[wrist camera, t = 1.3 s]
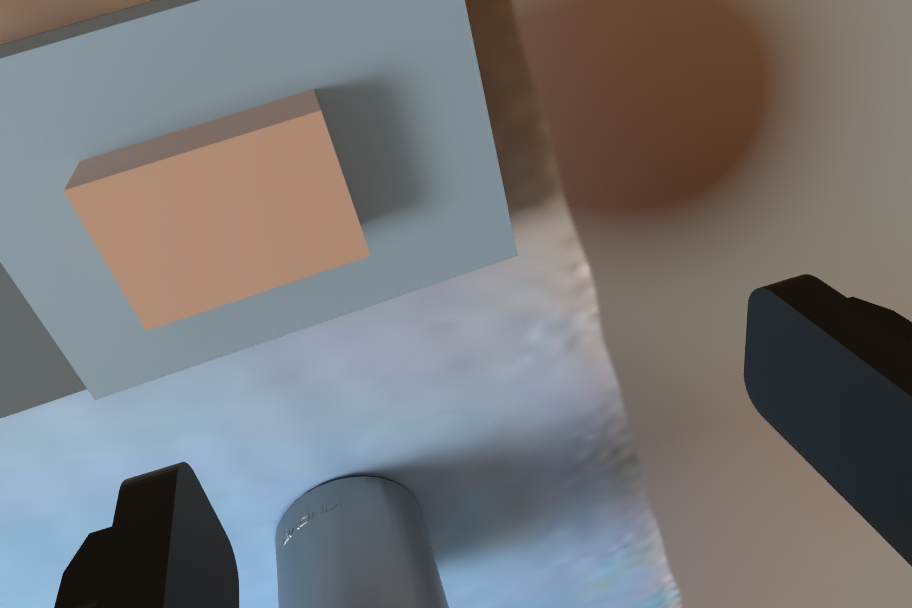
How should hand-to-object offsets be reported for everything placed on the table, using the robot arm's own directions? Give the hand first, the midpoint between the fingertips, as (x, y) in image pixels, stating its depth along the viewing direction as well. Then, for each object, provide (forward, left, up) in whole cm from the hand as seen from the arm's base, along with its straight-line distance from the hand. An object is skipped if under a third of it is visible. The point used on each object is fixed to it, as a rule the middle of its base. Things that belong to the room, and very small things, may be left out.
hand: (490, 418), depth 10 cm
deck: (-2, +5, -25) cm, 25 cm away
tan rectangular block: (-1, +6, -21) cm, 22 cm away
